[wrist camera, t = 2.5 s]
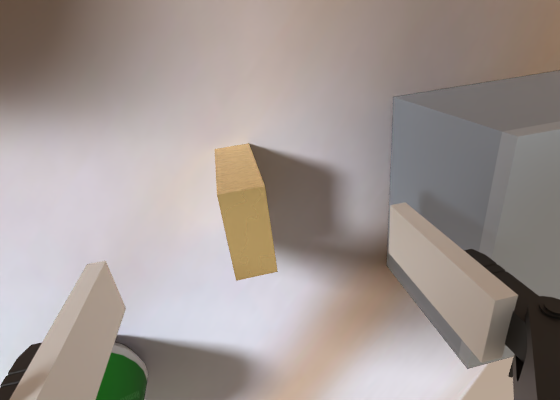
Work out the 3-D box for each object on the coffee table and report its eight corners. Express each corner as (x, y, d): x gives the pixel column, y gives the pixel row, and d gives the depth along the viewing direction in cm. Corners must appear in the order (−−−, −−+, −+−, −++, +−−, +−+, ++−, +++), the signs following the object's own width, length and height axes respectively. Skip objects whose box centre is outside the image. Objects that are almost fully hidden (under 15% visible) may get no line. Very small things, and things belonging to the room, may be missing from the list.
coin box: (393, 96, 22) (518, 136, 13) (590, 65, 24) (816, 82, 15) (386, 265, 28) (467, 369, 19) (542, 230, 30) (680, 311, 21)
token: (214, 149, 21) (217, 194, 15) (248, 143, 22) (264, 186, 15) (228, 216, 24) (236, 280, 17) (259, 210, 24) (277, 271, 18)
